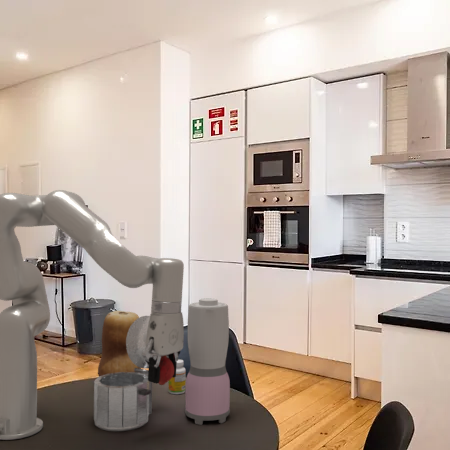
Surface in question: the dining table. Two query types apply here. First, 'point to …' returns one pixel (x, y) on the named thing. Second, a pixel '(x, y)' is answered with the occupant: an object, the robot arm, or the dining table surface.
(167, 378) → the red pomegranate
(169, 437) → the dining table surface
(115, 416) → the pot
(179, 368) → the supplement bottle
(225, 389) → the blender
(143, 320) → the lid
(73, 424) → the dining table surface
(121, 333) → the butternut squash
